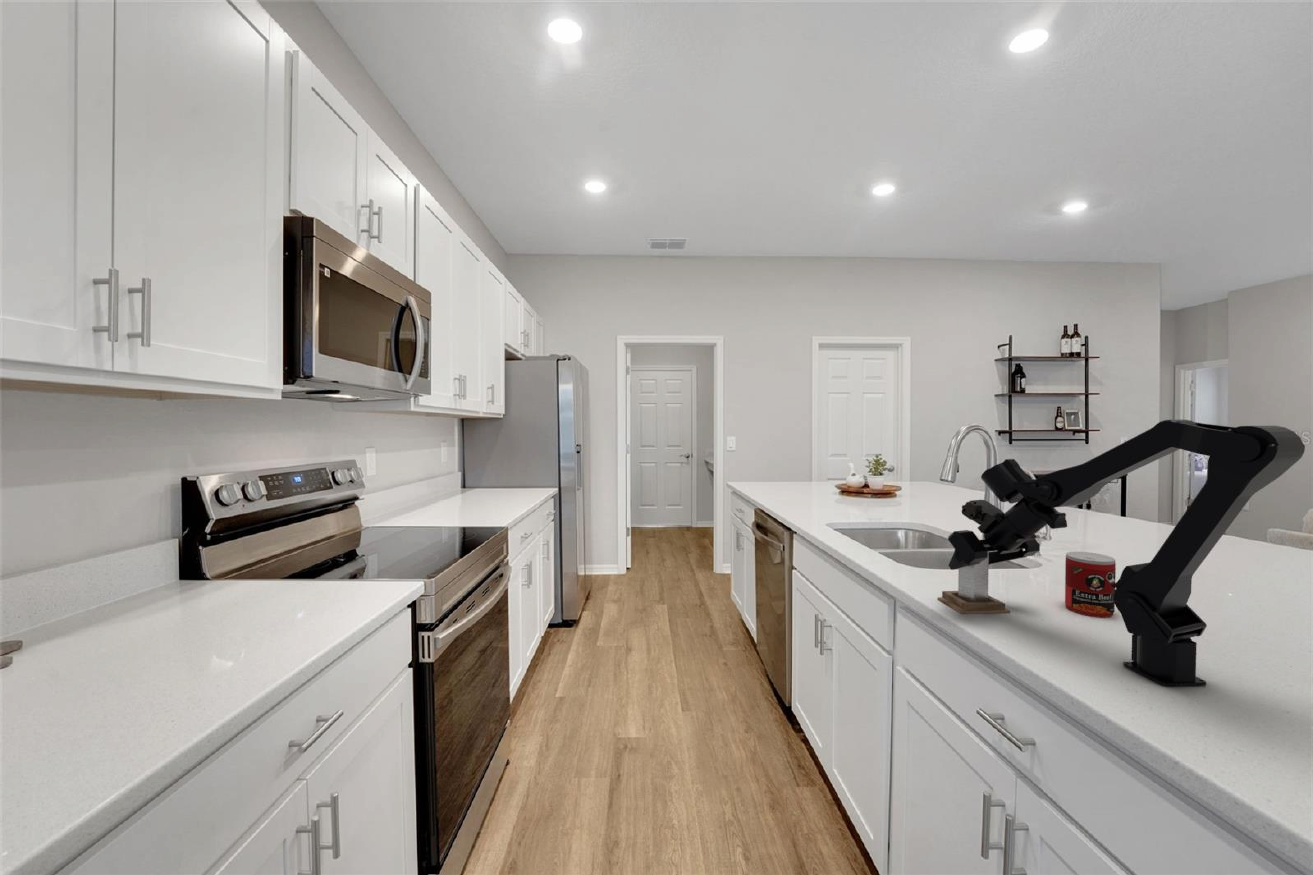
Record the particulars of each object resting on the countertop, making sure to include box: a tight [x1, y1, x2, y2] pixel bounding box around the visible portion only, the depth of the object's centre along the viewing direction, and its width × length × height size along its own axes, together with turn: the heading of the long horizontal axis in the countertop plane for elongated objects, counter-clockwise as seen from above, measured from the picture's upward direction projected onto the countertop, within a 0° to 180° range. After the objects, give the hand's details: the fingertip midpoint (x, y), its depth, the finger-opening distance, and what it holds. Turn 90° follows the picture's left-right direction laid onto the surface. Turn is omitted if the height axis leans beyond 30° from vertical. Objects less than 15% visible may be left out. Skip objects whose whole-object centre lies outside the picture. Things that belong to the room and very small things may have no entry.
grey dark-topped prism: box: [957, 552, 990, 602], centre depth 105 cm, size 4×4×13 cm
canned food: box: [1064, 551, 1117, 618], centre depth 102 cm, size 8×8×11 cm
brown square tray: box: [937, 590, 1011, 614], centre depth 105 cm, size 8×10×2 cm
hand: (966, 565), depth 107 cm, fingers open, 9 cm apart
